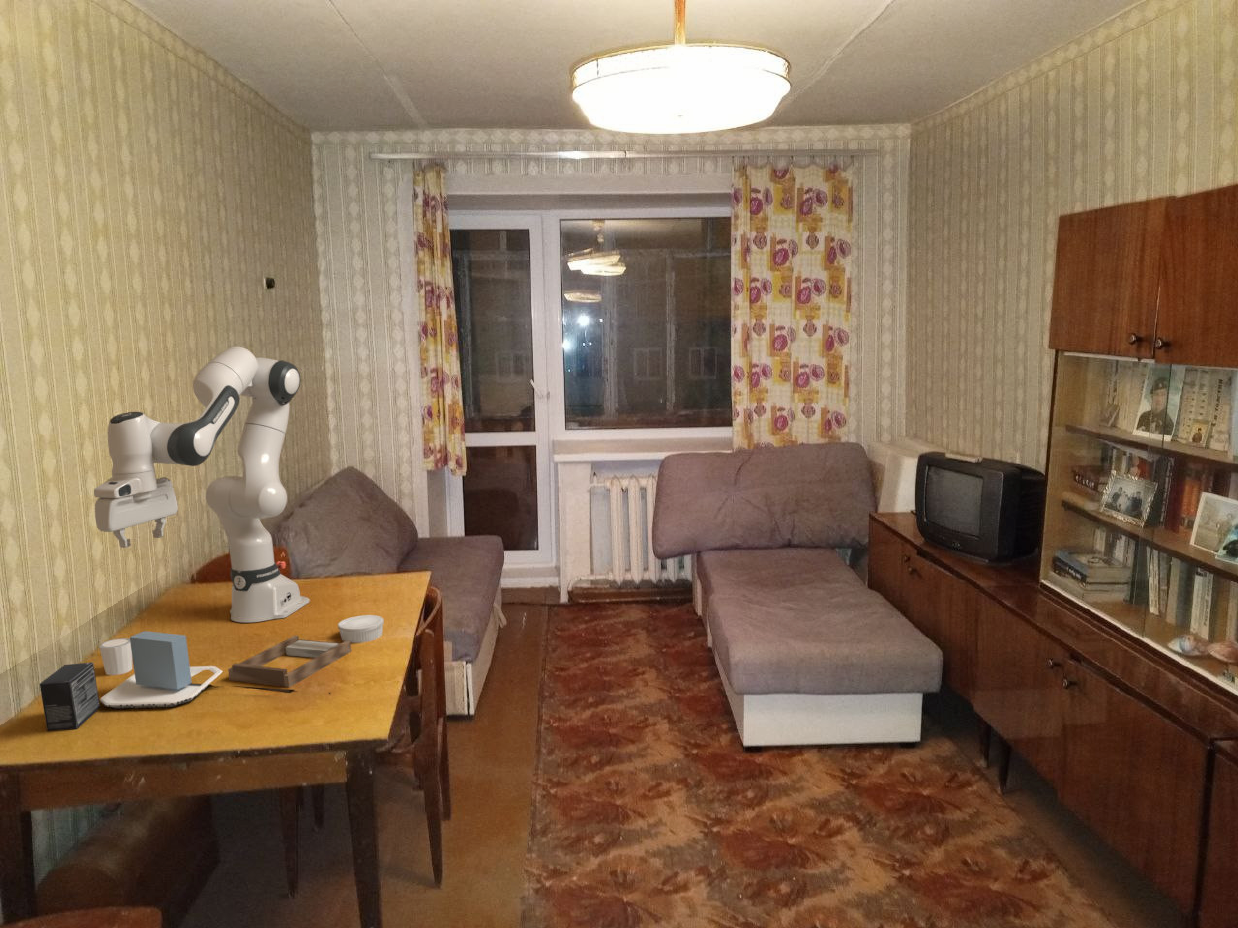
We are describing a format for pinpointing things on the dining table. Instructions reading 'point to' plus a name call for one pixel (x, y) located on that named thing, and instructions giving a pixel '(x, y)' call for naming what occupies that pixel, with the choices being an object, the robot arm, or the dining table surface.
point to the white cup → (116, 656)
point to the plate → (155, 692)
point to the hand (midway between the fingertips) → (142, 542)
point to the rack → (259, 674)
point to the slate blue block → (160, 660)
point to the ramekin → (361, 628)
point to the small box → (70, 696)
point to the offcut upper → (309, 648)
